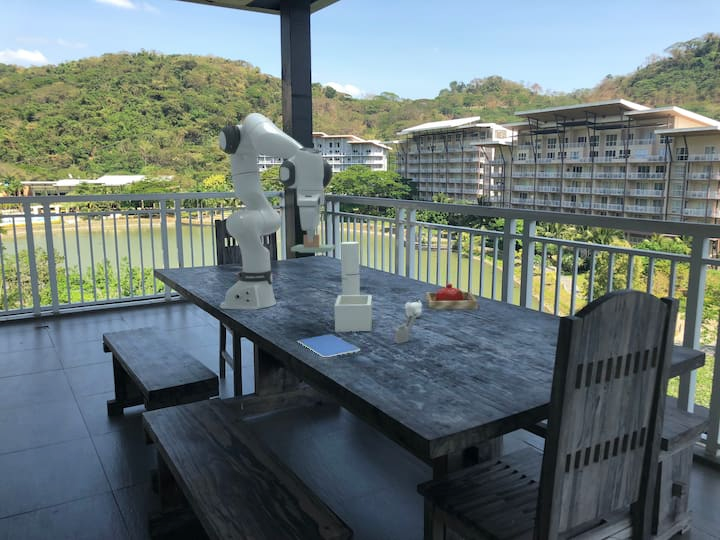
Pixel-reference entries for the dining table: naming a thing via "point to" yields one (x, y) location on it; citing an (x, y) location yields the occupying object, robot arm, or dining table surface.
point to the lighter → (404, 330)
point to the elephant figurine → (413, 308)
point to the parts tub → (353, 313)
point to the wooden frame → (452, 302)
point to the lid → (312, 246)
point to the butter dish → (449, 294)
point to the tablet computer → (328, 345)
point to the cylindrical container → (350, 268)
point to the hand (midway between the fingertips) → (311, 241)
